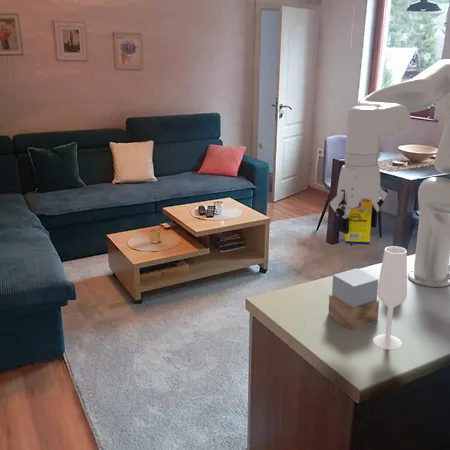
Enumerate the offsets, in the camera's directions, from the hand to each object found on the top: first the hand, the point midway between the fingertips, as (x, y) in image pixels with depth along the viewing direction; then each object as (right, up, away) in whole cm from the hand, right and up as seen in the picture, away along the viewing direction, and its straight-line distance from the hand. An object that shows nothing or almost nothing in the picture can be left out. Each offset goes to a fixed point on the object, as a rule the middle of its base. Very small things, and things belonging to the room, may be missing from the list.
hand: (357, 228), depth 122 cm
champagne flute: (+6, -28, -3) cm, 29 cm away
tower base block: (+1, -24, +8) cm, 25 cm away
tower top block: (+1, -18, +6) cm, 19 cm away
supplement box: (0, -3, +1) cm, 3 cm away
